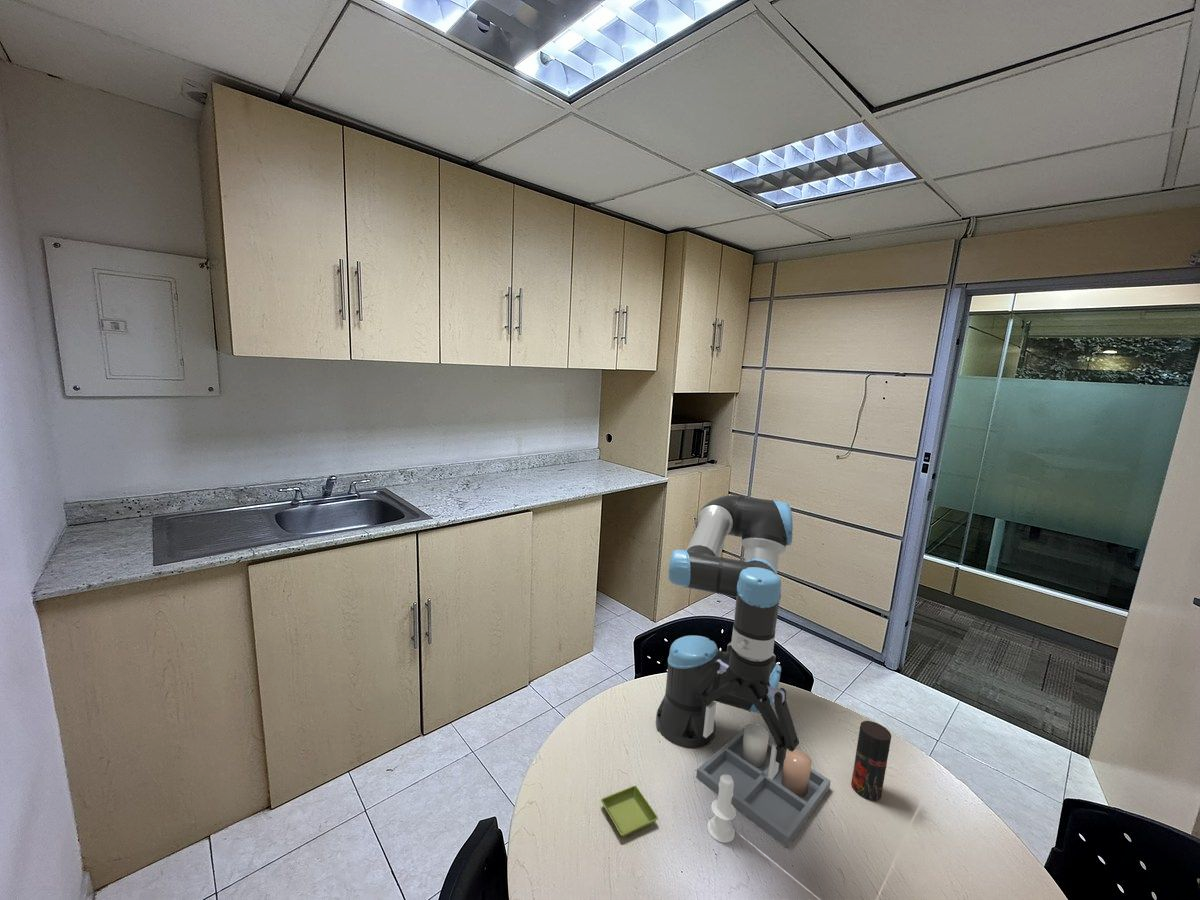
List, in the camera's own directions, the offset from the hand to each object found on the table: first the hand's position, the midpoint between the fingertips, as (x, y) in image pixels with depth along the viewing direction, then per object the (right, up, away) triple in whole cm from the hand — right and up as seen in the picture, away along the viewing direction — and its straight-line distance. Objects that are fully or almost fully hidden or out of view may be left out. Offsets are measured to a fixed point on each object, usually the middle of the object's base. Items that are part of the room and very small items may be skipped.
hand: (738, 753), depth 91 cm
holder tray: (+9, -16, +14) cm, 23 cm away
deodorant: (+33, -18, +14) cm, 40 cm away
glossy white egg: (+10, -15, +21) cm, 27 cm away
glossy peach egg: (+16, -16, +14) cm, 27 cm away
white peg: (-3, -17, +2) cm, 17 cm away
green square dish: (-21, -16, +4) cm, 27 cm away
